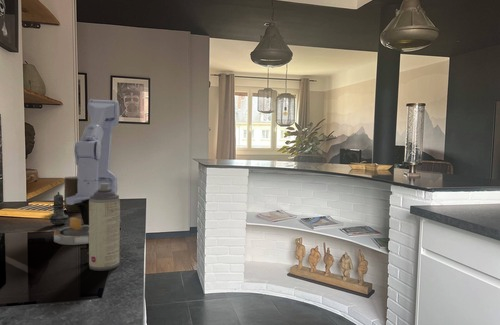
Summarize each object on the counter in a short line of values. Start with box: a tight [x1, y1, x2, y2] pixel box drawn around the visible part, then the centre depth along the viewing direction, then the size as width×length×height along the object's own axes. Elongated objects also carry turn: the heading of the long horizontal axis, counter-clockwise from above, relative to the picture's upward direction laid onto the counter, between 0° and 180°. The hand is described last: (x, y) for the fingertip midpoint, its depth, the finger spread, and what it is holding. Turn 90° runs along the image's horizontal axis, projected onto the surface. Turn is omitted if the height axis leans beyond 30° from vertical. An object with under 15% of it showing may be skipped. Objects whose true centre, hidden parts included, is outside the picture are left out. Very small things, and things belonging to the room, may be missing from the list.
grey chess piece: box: [48, 191, 69, 226], centre depth 120 cm, size 6×6×12 cm
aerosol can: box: [88, 183, 121, 272], centre depth 86 cm, size 7×7×20 cm
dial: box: [64, 216, 89, 236], centre depth 106 cm, size 10×9×5 cm
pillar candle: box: [63, 173, 80, 213], centre depth 147 cm, size 10×10×15 cm
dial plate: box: [53, 224, 89, 246], centre depth 106 cm, size 15×15×3 cm
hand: (87, 224), depth 109 cm, fingers closed
